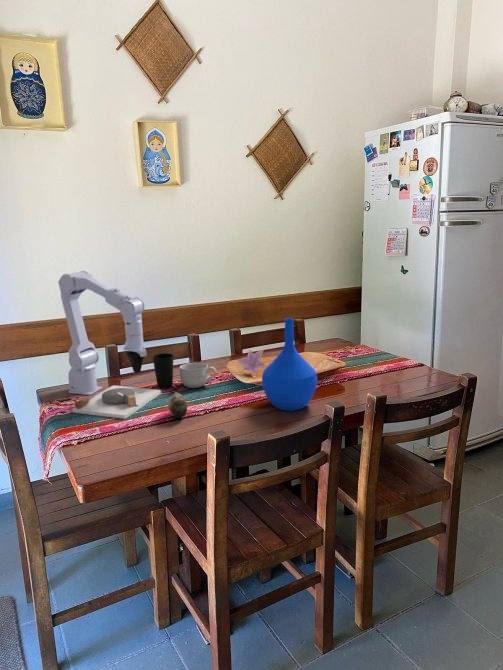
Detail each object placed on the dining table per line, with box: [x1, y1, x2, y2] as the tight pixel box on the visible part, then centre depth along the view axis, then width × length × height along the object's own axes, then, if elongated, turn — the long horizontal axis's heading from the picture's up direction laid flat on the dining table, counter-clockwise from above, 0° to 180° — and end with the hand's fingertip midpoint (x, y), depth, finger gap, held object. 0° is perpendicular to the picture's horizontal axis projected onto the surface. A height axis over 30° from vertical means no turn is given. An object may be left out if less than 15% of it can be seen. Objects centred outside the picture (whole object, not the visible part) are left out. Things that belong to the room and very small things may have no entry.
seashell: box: [167, 391, 188, 419], centre depth 166 cm, size 10×6×8 cm, turn 24°
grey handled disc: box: [102, 388, 136, 406], centre depth 178 cm, size 16×11×3 cm
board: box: [72, 385, 162, 420], centre depth 181 cm, size 20×24×1 cm
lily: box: [236, 349, 266, 374], centre depth 207 cm, size 12×12×10 cm
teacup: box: [179, 362, 217, 389], centre depth 195 cm, size 14×11×8 cm
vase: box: [261, 317, 318, 412], centre depth 171 cm, size 18×18×30 cm
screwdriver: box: [74, 395, 96, 409], centre depth 176 cm, size 9×2×2 cm, turn 161°
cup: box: [152, 352, 175, 390], centre depth 194 cm, size 8×8×12 cm
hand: (137, 371), depth 180 cm, fingers closed
